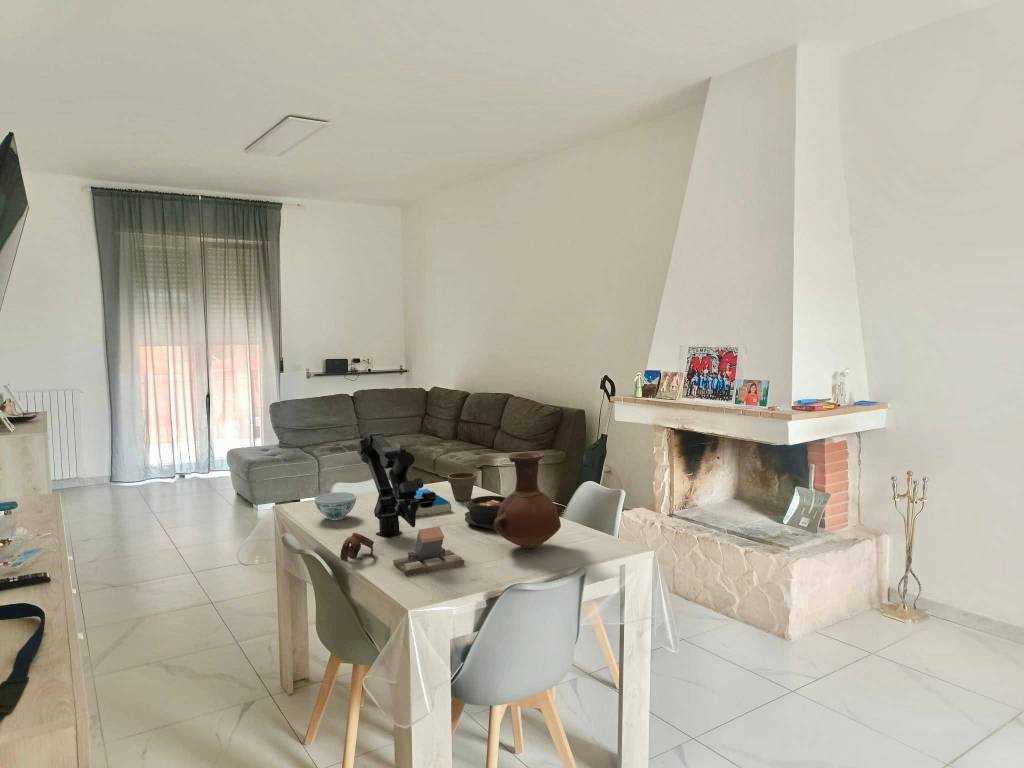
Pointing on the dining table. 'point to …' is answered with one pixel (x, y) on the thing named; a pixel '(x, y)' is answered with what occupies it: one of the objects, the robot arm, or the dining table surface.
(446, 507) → the book
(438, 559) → the brown rectangular slab
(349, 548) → the brown curved piece
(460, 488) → the flower pot
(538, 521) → the vase
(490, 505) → the casserole
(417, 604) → the dining table surface
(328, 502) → the chinaware
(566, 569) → the dining table surface
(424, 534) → the grey block
